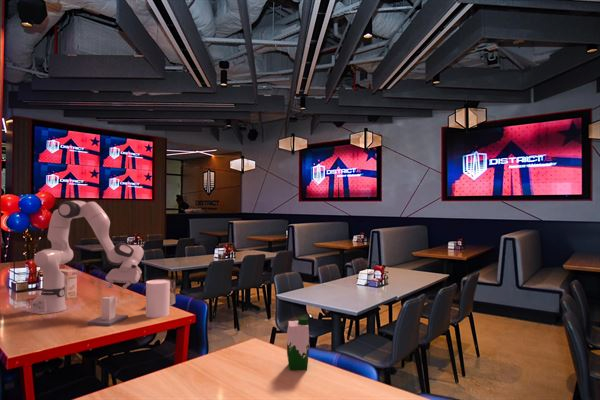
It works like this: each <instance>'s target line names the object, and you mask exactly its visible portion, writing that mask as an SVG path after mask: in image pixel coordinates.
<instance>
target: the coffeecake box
mask: <svg viewBox="0 0 600 400" xmlns="http://www.w3.org/2000/svg"><path fill="white" fill-rule="evenodd" d="M59 269H60V268H59ZM60 271H61V272H62V273H63V274H64V286H65V294H64V295H65V300H72V299H76V298H77V292H78V291H77V290H78V289H77V285H78V279H77V278H78V270H77V269H71V268H61V269H60Z"/></svg>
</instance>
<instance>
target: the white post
mask: <svg viewBox="0 0 600 400" xmlns="http://www.w3.org/2000/svg"><path fill="white" fill-rule="evenodd" d="M115 314H116V296H112V295H111V296H109V295H107V296H104V297H101V316H102V317H101V319H104V320H110V319H113V318H115Z"/></svg>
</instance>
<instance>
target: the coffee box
mask: <svg viewBox="0 0 600 400" xmlns="http://www.w3.org/2000/svg"><path fill="white" fill-rule="evenodd" d="M168 280H169V281H170V305H169V307H171V306H173V305H174V304H176V282H177V281H176V279H168Z"/></svg>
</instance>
